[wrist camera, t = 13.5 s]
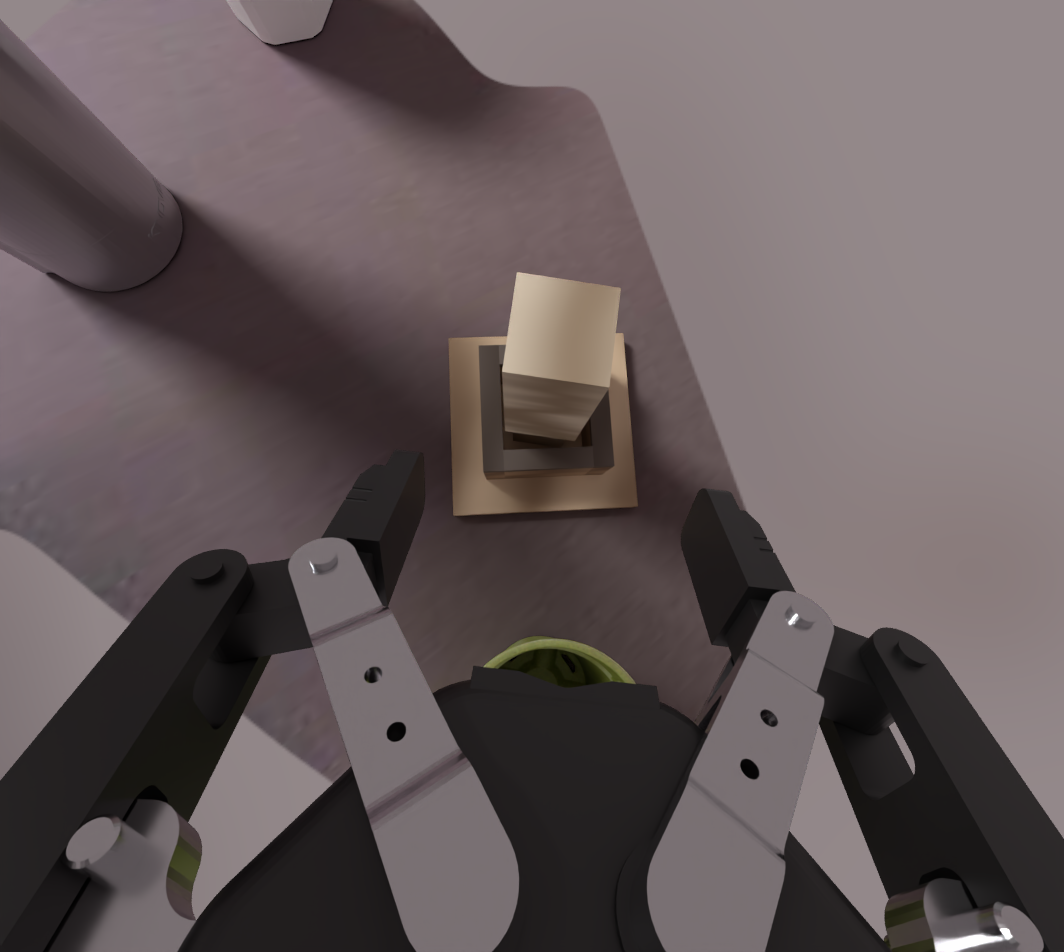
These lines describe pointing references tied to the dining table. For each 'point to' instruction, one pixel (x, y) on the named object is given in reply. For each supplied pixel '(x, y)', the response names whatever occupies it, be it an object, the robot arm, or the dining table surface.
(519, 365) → the leg peg
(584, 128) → the dining table surface
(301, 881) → the robot arm
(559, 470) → the board
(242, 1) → the cup
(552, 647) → the plant pot
